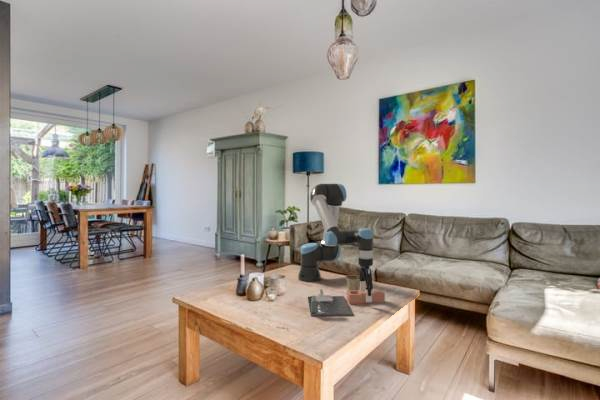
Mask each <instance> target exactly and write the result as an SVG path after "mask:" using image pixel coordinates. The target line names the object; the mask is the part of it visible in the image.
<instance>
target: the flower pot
mask: <svg viewBox="0 0 600 400" xmlns="http://www.w3.org/2000/svg"><path fill="white" fill-rule="evenodd" d="M345 280H346V283H347V284H346V285H347V291H351V290H359V291H360V279H359V275H356V274H350V275H346V276H345Z"/></svg>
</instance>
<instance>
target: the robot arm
mask: <svg viewBox="0 0 600 400" xmlns="http://www.w3.org/2000/svg"><path fill="white" fill-rule="evenodd" d="M347 196H348V195H347V190H346V187H345V186H344V184H342V183H318V184H316V185H315V186H314V187H313V188H312V189H311V191H310V199H309V200H310V202H311V204H312V206H314V207H315V210H316V212H317V215H318V217H319V219H320V221H321V224H322V226H323V228H324V229H323V238H322V239H321V241H320V244H318V243H317V242H309V243H305V244H302V245H301V247H300V269H299V272H298V274H297V275H298V276H297V279H298V280H299V281H302V282H310V283H311V282H317V281H320V280H321V277H322V275H321V272H320V268H319V263H326V262H327V263H328V262H336V261H338V260H339V259H340V256H341V246H343V245H357V246H358V248H357V249H358V251H357V254H358V258H357V259H358V260H357V261H358V266H360V267H359V268H360V269H359V275H358V276H359V279H360V287H359V291H366V302H372V291H373V290H374V285H373V276H372V269H370V267H372V266H373V265H374V259H373V258H374V235H373V233H374V232H373V229H372V228H367V227H366V228H365V227H364V228H363V227H362V228H359V229H358V230H357V229H350V230H342V231H341V230H340V228H339V226H338V224H339V217H340V216H339V215H340V207H342V206H343V203H344V202H345V201H346V200H347Z"/></svg>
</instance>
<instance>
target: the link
mask: <svg viewBox="0 0 600 400" xmlns="http://www.w3.org/2000/svg"><path fill="white" fill-rule="evenodd" d="M385 297H386V295H385V292H384V291H383V290H380V291H379V290H378V291H377V290H375V291H374V290H372V302H366V290H365V291H360V289H359V290H351V291H348V290H346V301H347V303H348V305H362V304H364V303H365V304H367V303H368V304H369V303H386V302H385V301H386V299H385Z"/></svg>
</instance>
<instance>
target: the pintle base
mask: <svg viewBox="0 0 600 400" xmlns="http://www.w3.org/2000/svg"><path fill="white" fill-rule="evenodd" d="M307 302H308V306H309V307H308V309H309V314H310V317H340V316H341V317H342V316H344V317H345V316H346V317H347V316H348V317H350V316H351V317H352V316H353V315H354V313H353V312H352V309H351V306H349V305H350V304H349V303H348V301H347V298H345V296H344V295H337V296H336V295H335V296H334V295H324V291H323V289H322V288H321V289H319V291H318V295H311V296H307Z"/></svg>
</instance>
